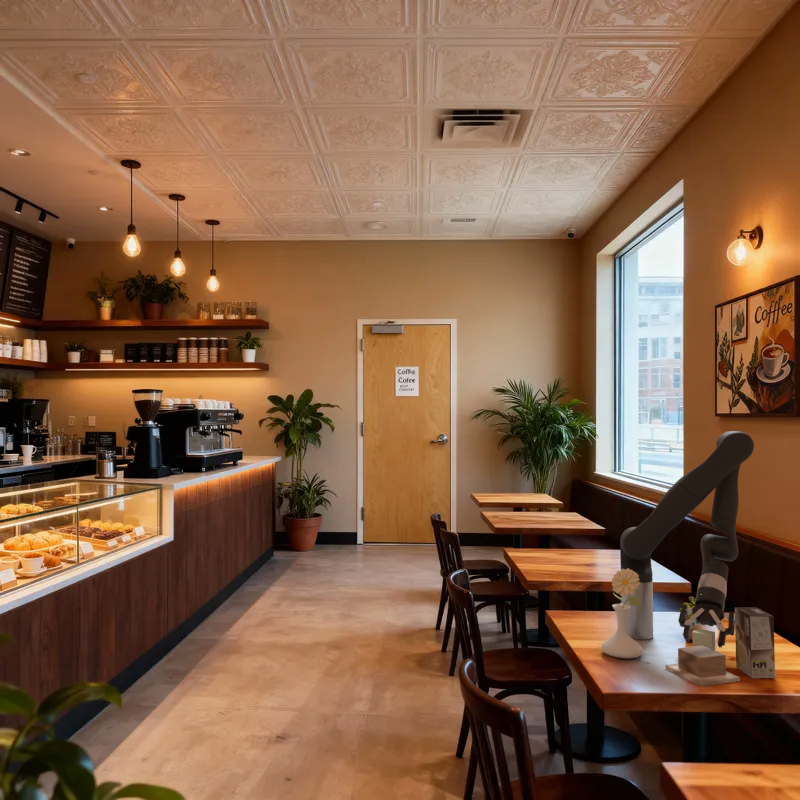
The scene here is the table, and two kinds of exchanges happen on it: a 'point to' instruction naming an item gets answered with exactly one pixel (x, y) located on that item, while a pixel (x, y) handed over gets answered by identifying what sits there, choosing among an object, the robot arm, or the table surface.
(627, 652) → the flower in vase
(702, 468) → the robot arm
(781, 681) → the table surface
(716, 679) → the tower base
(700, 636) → the sage brick
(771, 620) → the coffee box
